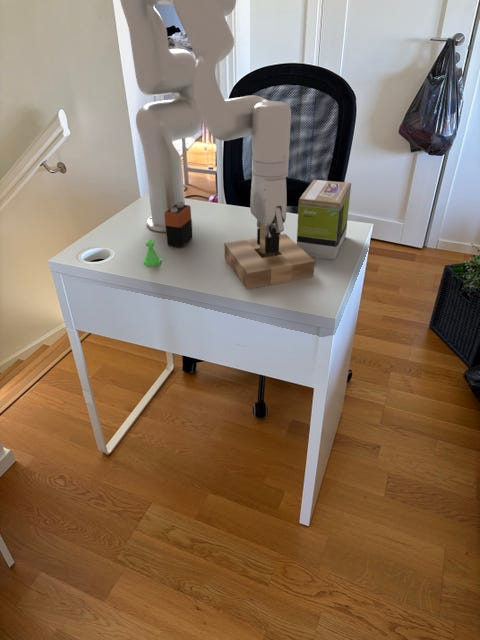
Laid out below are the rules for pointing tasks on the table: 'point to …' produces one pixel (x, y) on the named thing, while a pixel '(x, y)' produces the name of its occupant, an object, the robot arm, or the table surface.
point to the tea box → (323, 218)
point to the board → (268, 262)
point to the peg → (262, 241)
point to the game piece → (151, 255)
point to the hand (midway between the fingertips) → (267, 247)
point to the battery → (178, 225)
